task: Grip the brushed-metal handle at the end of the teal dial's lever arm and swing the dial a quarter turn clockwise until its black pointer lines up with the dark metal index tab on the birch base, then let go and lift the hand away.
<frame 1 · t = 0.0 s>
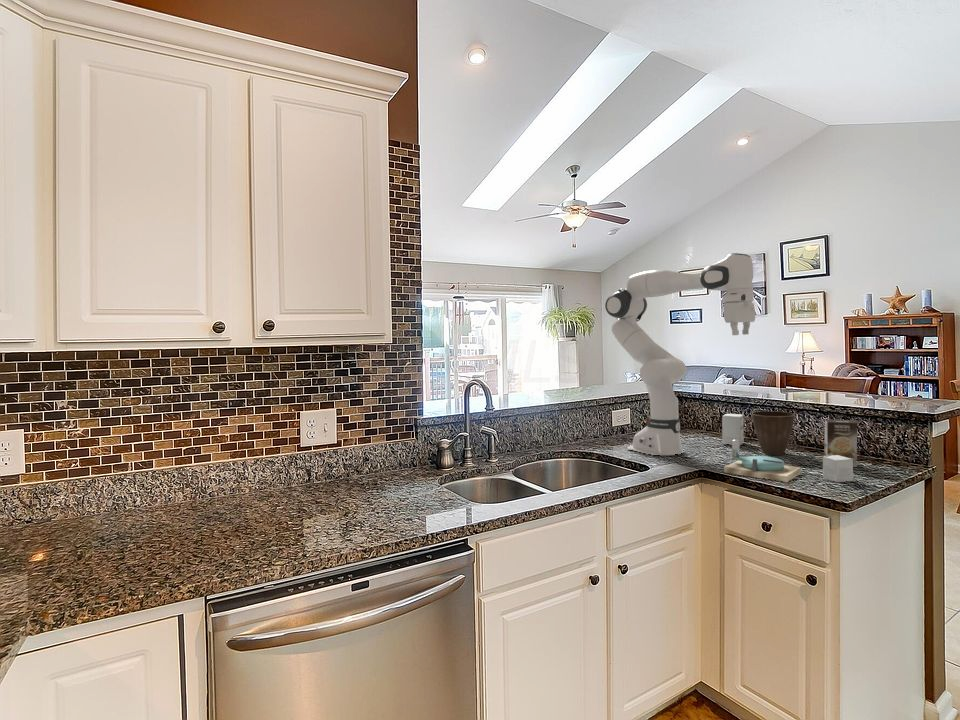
hand: (740, 334, 199), 48 cm above the worktop, tool pointing down, fingers open, 8 cm apart
plant pot: (773, 453, 215), on the worktop
dial: (756, 453, 189), point 6 cm above the worktop, hinge at 0.0°
supplement box: (733, 444, 235), on the worktop
coffee box: (840, 465, 194), on the worktop
skincare box: (837, 480, 177), on the worktop
dial base: (762, 472, 188), on the worktop
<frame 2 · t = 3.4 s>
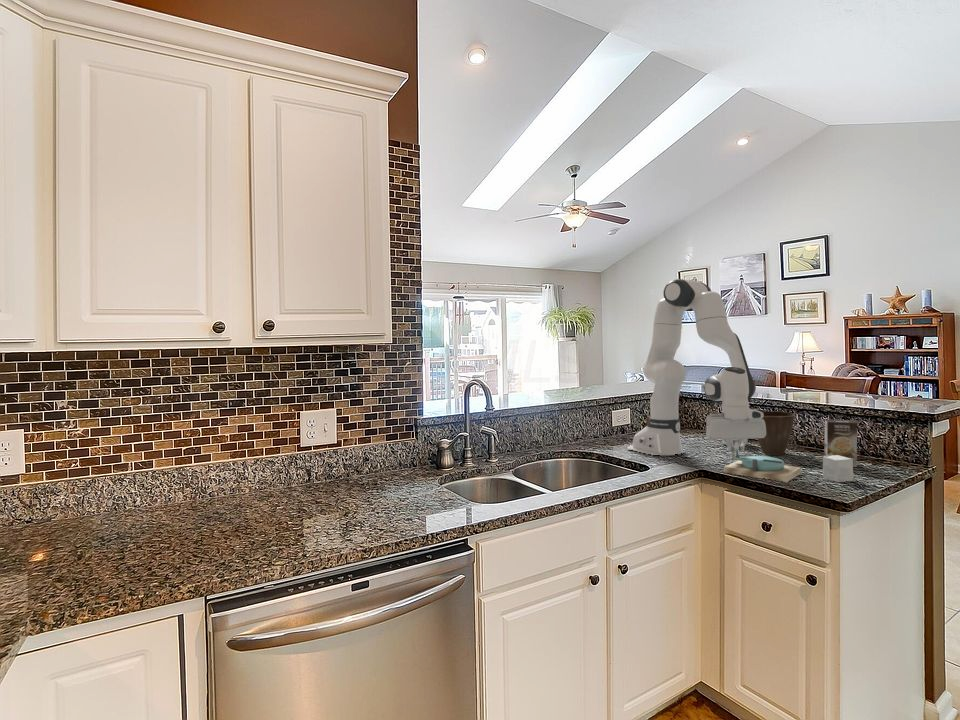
hand: (735, 450, 194), 6 cm above the worktop, tool pointing down, fingers closed on dial, 2 cm apart
dial: (756, 453, 189), point 6 cm above the worktop, hinge at 0.0°, touching gripper
everything else where it was.
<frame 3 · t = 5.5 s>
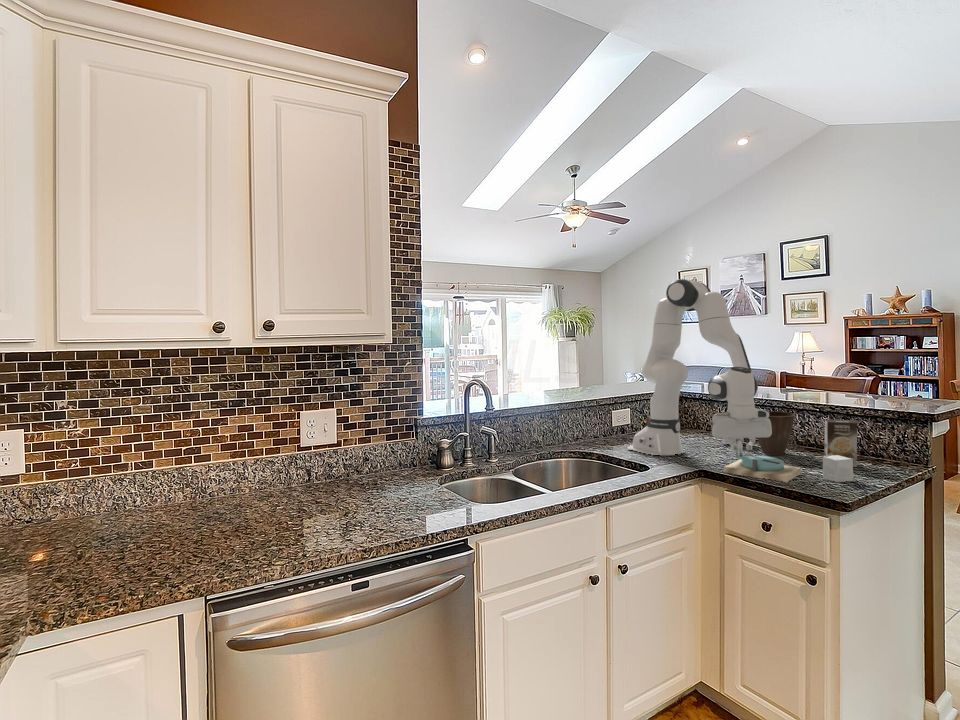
hand: (741, 449, 196), 6 cm above the worktop, tool pointing down, fingers open, 4 cm apart
dial: (757, 453, 189), point 6 cm above the worktop, hinge at -14.6°, touching gripper
everything else where it was.
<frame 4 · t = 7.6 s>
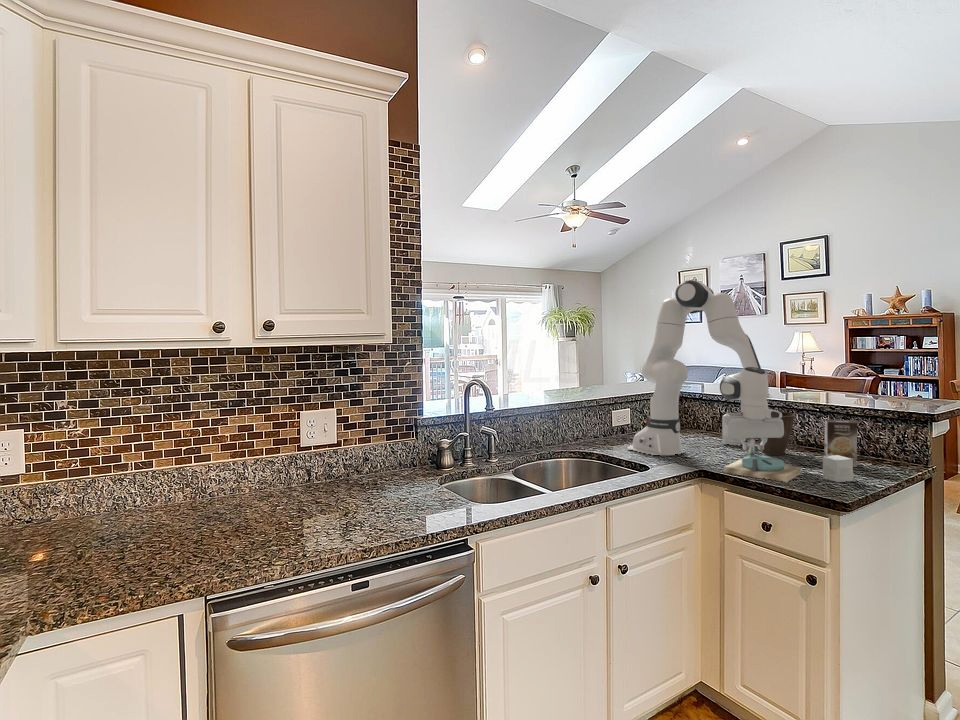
hand: (753, 449, 197), 6 cm above the worktop, tool pointing down, fingers open, 4 cm apart
dial: (760, 453, 190), point 6 cm above the worktop, hinge at -47.8°, touching gripper
everything else where it was.
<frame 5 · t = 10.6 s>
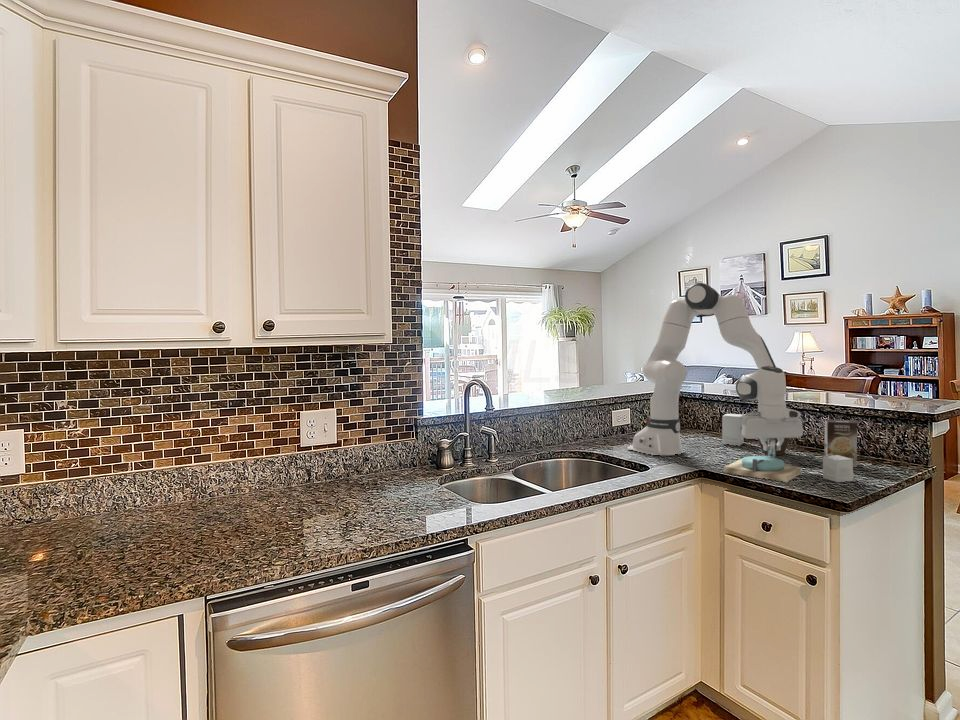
hand: (771, 450, 194), 6 cm above the worktop, tool pointing down, fingers closed on dial, 2 cm apart
dial: (764, 453, 189), point 6 cm above the worktop, hinge at -89.9°, touching gripper
everything else where it was.
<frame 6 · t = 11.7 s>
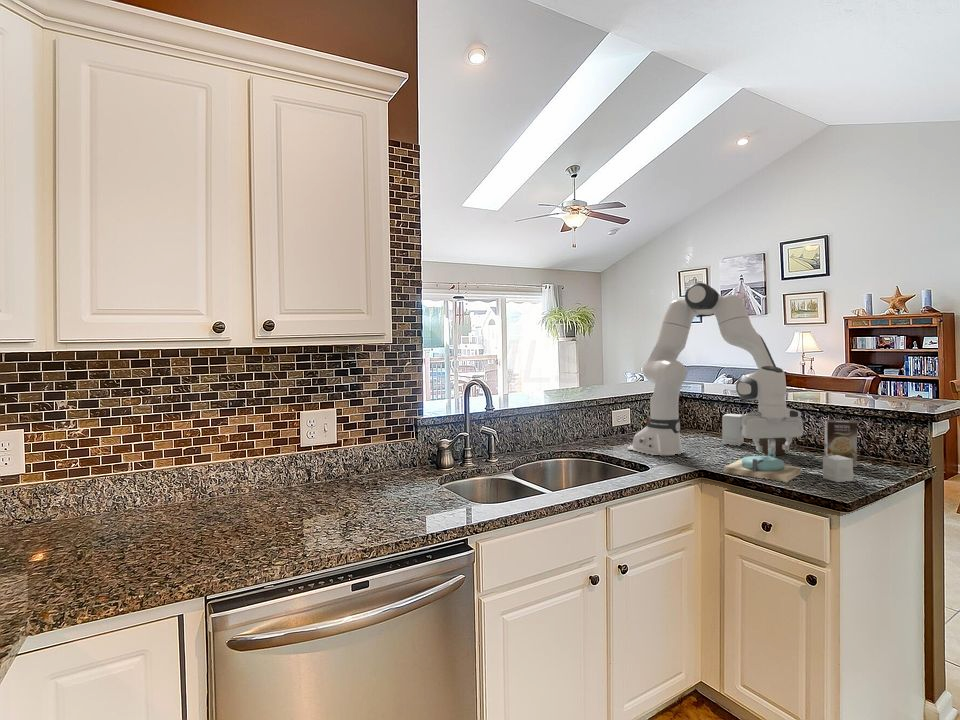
hand: (772, 450, 194), 6 cm above the worktop, tool pointing down, fingers open, 8 cm apart
dial: (764, 453, 189), point 6 cm above the worktop, hinge at -90.2°
everything else where it was.
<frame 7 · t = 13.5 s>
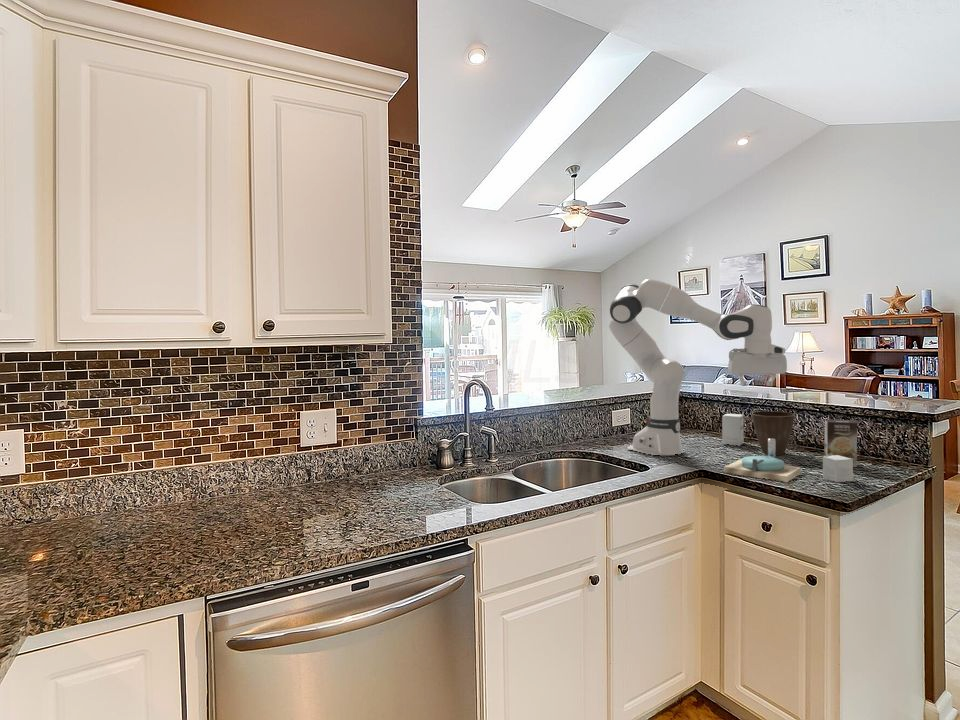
hand: (756, 385, 200), 29 cm above the worktop, tool pointing down, fingers open, 8 cm apart
nothing on the worktop moved.
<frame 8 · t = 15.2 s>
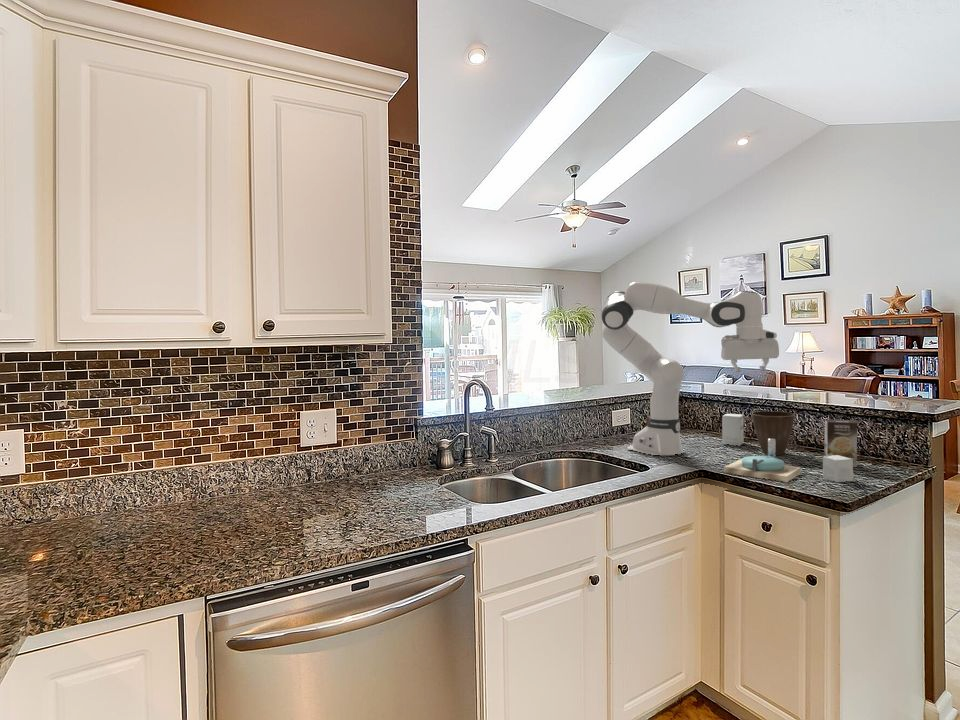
hand: (749, 371, 202), 34 cm above the worktop, tool pointing down, fingers open, 8 cm apart
nothing on the worktop moved.
at the end: dial at -90° (first picture: +0°); skincare box moved 0.3 cm from its start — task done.
